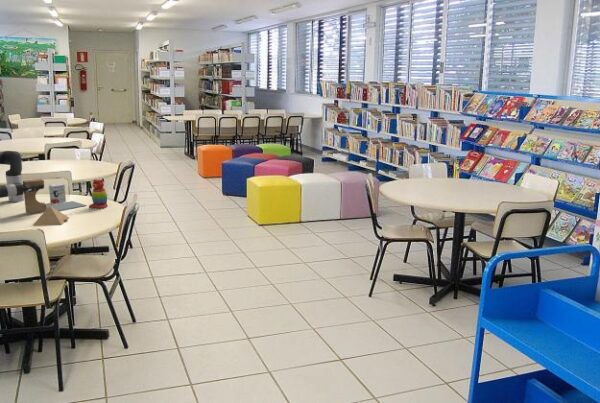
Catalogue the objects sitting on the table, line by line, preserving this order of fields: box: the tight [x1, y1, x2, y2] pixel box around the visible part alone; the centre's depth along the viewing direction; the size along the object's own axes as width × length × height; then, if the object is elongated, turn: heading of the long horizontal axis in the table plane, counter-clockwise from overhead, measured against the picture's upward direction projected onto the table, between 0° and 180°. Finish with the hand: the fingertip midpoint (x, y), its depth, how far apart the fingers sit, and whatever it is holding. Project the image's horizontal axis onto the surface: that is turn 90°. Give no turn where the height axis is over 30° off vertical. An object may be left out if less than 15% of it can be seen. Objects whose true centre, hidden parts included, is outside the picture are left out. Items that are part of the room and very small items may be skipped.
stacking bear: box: [88, 178, 108, 210], centre depth 359 cm, size 11×10×18 cm
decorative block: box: [22, 178, 47, 215], centre depth 345 cm, size 11×6×20 cm, turn 126°
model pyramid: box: [32, 205, 70, 227], centre depth 325 cm, size 17×17×10 cm
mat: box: [46, 200, 87, 212], centre depth 360 cm, size 17×22×1 cm
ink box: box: [48, 183, 67, 205], centre depth 371 cm, size 9×5×12 cm, turn 136°
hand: (40, 185), depth 346 cm, fingers open, 8 cm apart
